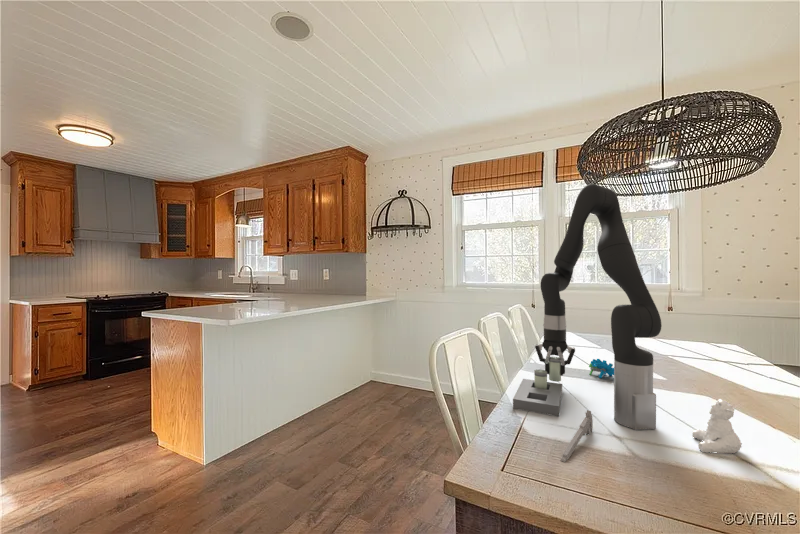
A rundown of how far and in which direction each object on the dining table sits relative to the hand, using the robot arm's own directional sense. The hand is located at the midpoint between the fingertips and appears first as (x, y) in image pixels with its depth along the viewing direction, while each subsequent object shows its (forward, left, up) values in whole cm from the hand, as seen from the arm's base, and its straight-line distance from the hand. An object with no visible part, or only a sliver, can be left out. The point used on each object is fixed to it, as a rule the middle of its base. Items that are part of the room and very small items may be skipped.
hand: (554, 374), depth 131 cm
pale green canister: (0, 0, -2) cm, 2 cm away
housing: (-12, +12, -5) cm, 18 cm away
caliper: (-41, +17, -5) cm, 45 cm away
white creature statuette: (-46, -16, -5) cm, 49 cm away
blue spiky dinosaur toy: (+9, -25, -5) cm, 27 cm away
